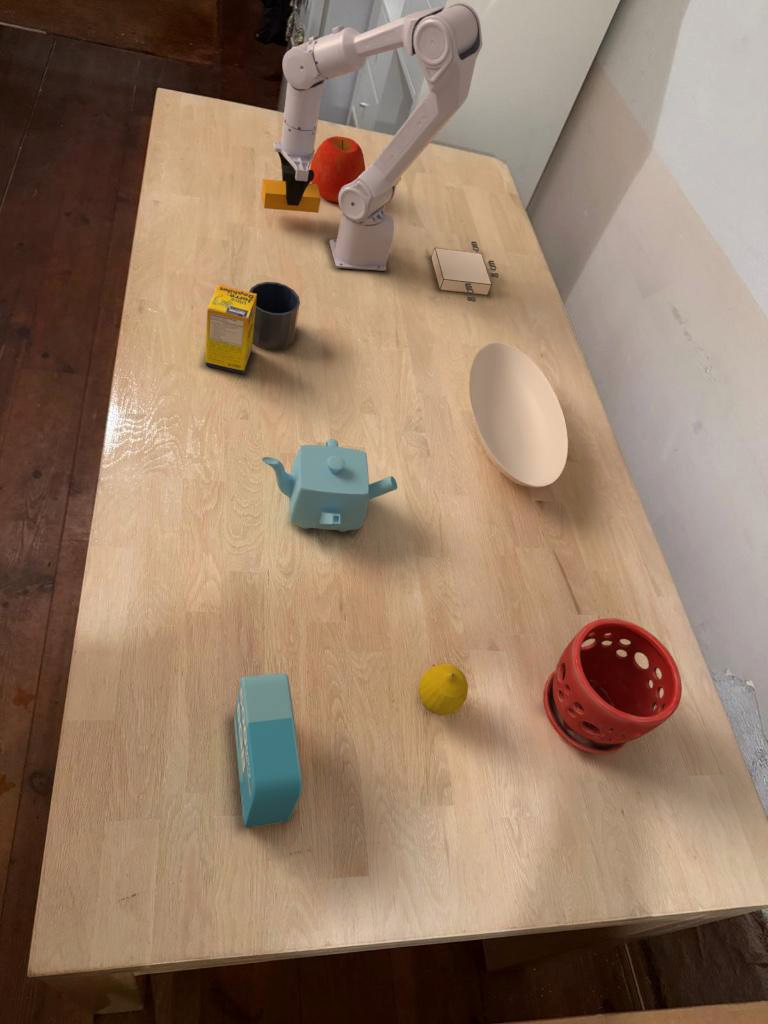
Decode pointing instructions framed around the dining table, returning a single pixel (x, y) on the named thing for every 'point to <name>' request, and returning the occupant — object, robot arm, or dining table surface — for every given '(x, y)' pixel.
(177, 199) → the dining table surface
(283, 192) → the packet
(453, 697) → the fruit
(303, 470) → the teapot
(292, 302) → the cup
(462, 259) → the container
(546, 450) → the bowl
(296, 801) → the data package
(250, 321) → the supplement box
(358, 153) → the apple
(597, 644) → the flower pot
